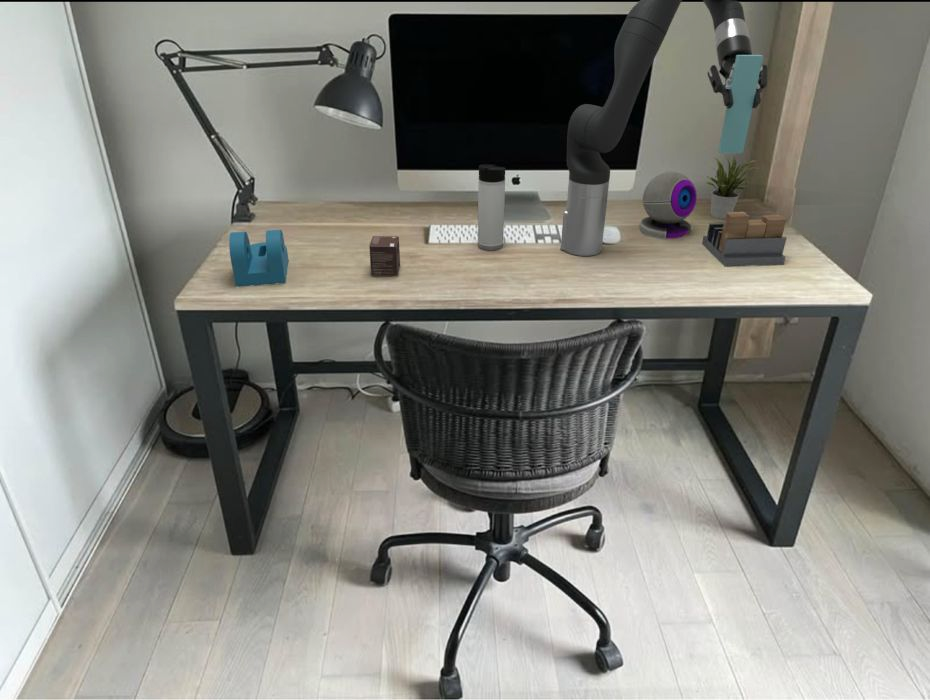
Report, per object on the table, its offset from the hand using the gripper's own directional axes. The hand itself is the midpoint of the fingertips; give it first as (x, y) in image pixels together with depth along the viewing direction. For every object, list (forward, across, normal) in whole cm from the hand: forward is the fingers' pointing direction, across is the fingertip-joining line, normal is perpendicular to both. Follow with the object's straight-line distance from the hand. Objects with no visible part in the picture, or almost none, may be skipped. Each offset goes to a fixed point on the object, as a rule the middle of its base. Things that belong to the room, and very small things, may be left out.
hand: (743, 106), depth 161 cm
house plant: (+14, +7, +30) cm, 34 cm away
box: (+35, -84, +9) cm, 92 cm away
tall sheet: (+7, 0, +9) cm, 11 cm away
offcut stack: (+33, 0, +8) cm, 34 cm away
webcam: (+20, -13, +24) cm, 34 cm away
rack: (+32, 0, +12) cm, 34 cm away
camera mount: (+33, -112, +12) cm, 118 cm away
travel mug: (+26, -60, +18) cm, 67 cm away
